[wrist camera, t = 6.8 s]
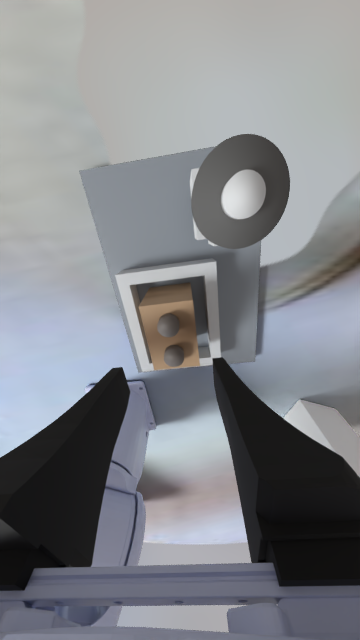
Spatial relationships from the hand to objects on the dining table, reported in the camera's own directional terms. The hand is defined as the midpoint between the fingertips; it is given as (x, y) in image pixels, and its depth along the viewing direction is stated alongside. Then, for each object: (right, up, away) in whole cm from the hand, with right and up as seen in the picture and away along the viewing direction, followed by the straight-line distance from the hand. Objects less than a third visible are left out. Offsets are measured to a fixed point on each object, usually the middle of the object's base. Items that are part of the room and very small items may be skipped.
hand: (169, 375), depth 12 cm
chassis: (+1, +7, +8) cm, 10 cm away
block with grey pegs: (0, +4, +8) cm, 9 cm away
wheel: (+4, +12, +2) cm, 12 cm away
